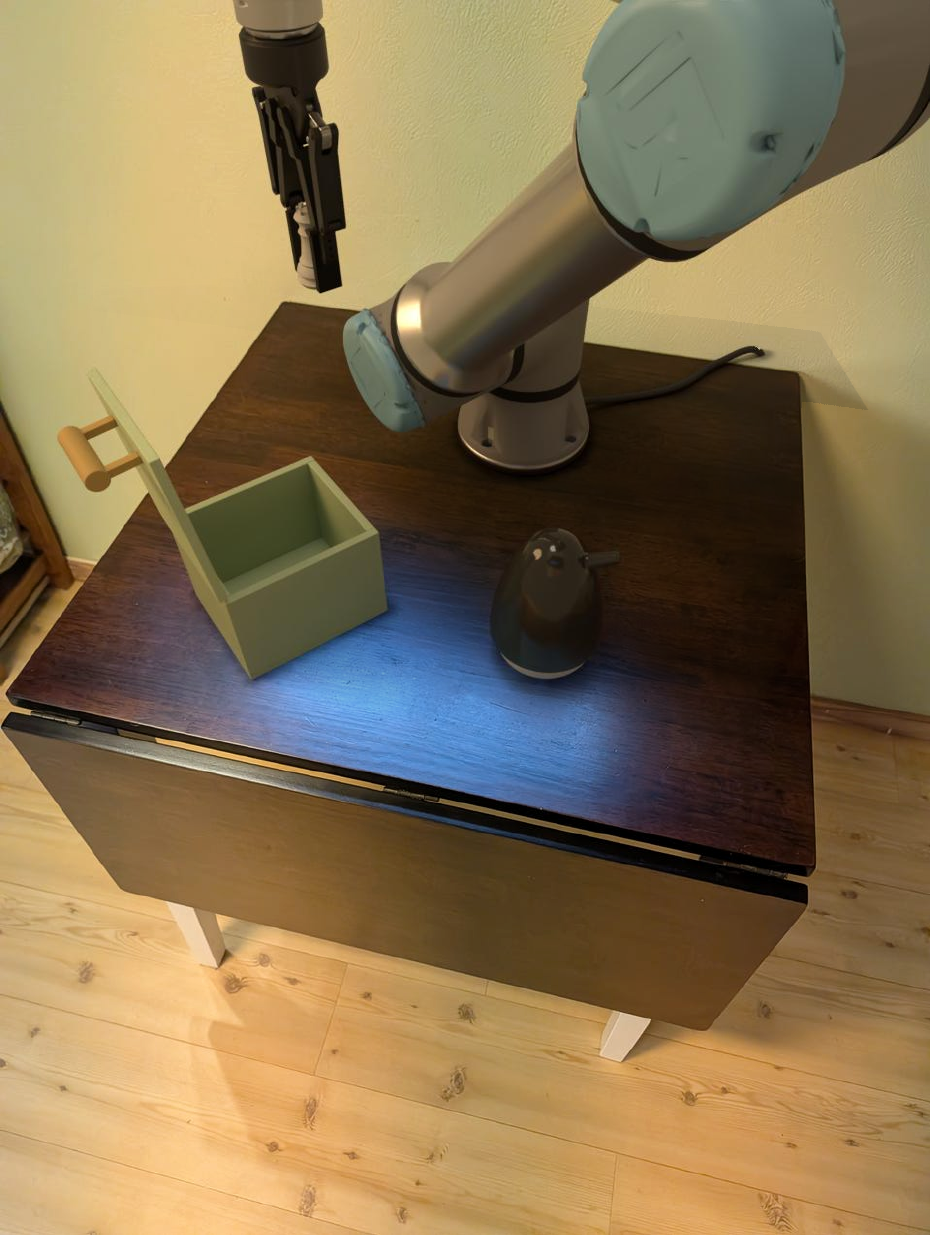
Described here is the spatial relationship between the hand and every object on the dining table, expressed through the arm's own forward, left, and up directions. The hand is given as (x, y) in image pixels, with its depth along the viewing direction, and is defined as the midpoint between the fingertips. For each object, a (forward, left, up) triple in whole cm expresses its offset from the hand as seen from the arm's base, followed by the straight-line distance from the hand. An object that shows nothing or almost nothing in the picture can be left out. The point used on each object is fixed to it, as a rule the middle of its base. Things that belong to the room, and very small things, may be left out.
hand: (318, 277), depth 91 cm
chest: (+4, +33, -16) cm, 36 cm away
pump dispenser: (-20, +41, -16) cm, 48 cm away
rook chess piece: (0, 0, -1) cm, 1 cm away
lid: (+11, +36, +3) cm, 38 cm away
